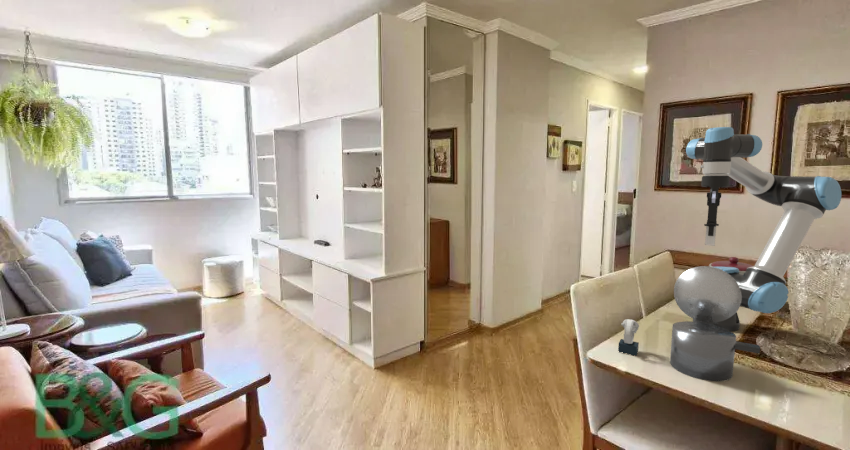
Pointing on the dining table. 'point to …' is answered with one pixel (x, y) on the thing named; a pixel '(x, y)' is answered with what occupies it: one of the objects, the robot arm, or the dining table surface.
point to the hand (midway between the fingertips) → (709, 245)
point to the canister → (732, 264)
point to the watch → (629, 338)
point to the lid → (707, 294)
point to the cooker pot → (705, 350)
